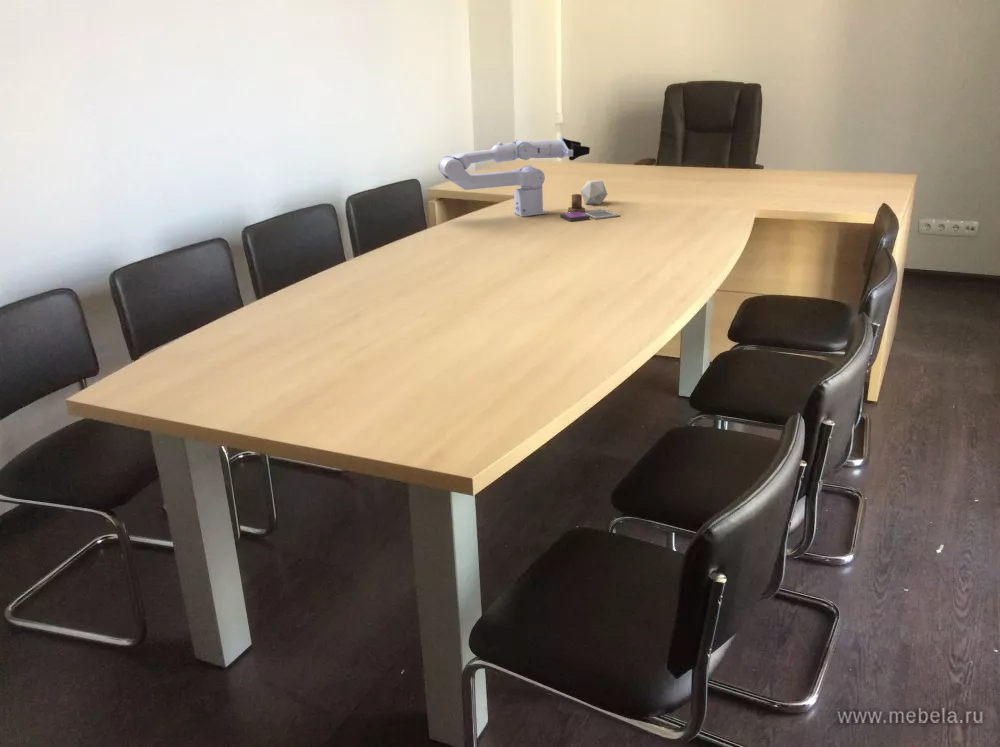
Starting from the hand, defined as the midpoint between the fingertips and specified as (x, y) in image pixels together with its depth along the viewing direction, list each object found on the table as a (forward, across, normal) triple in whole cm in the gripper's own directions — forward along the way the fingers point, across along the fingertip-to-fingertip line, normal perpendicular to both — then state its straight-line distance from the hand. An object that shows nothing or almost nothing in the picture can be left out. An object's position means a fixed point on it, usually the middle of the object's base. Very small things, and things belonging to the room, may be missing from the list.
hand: (584, 147), depth 287 cm
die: (+6, +2, +20) cm, 22 cm away
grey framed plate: (+1, -16, +19) cm, 25 cm away
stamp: (-5, -8, +20) cm, 22 cm away
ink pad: (-9, -17, +19) cm, 27 cm away
